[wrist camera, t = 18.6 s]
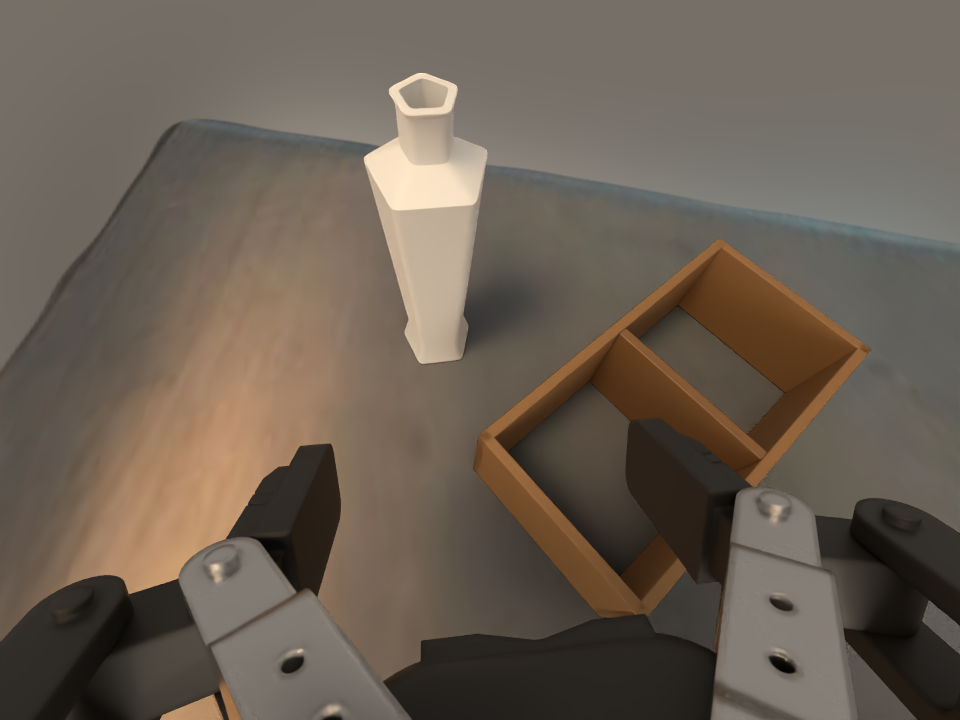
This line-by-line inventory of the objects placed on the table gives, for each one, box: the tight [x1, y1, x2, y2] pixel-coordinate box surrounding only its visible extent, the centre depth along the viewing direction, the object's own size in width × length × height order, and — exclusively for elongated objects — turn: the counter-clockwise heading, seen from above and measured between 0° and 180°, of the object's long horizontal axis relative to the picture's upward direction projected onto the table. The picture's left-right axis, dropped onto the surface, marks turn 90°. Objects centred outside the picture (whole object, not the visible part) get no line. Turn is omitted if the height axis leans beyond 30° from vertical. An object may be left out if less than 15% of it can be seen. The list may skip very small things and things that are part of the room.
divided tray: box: [473, 238, 871, 618], centre depth 23 cm, size 18×9×6 cm, turn 131°
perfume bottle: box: [364, 73, 487, 364], centre depth 21 cm, size 5×4×15 cm
